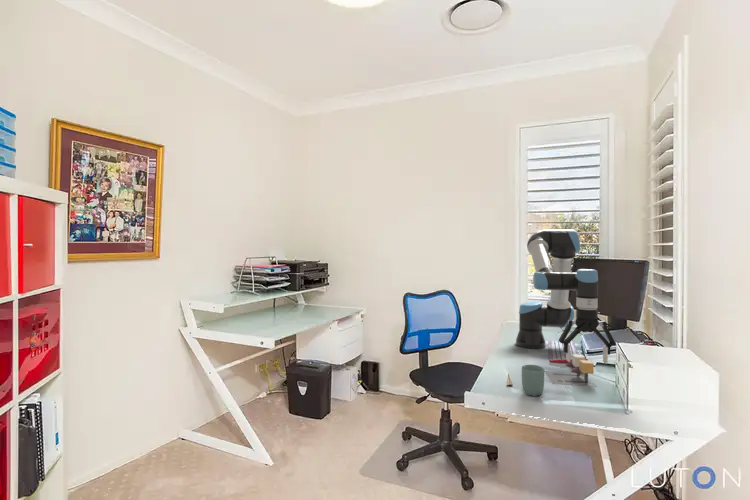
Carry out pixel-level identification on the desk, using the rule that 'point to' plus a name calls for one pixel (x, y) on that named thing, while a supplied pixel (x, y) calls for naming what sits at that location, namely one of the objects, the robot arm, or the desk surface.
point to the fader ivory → (577, 361)
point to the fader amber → (586, 368)
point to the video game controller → (572, 366)
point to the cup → (532, 379)
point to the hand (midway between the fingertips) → (586, 361)
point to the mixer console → (568, 378)
